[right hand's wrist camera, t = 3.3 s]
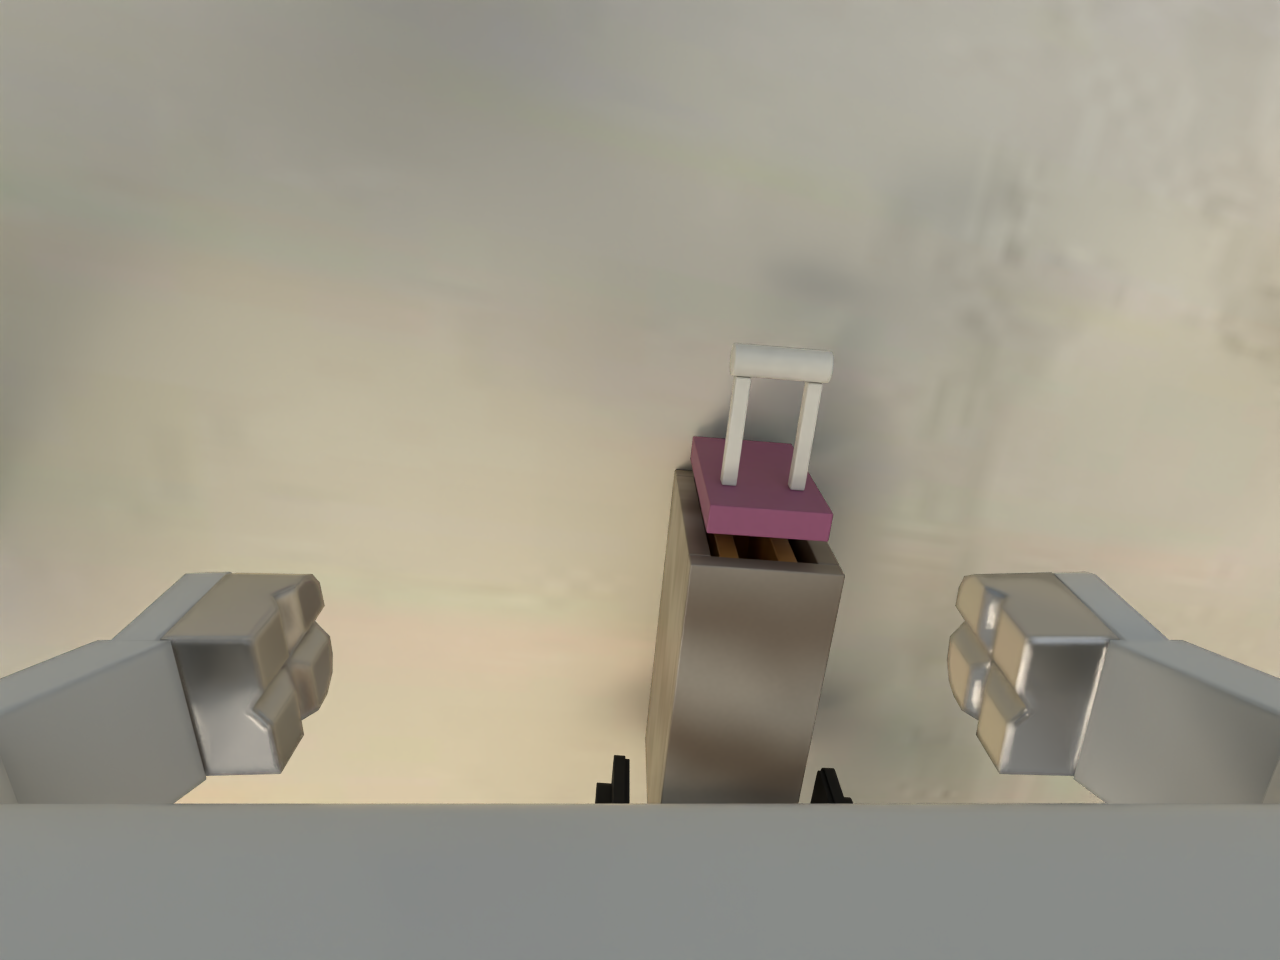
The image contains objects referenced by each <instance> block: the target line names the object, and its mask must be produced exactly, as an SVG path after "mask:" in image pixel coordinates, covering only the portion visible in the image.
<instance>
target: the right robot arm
mask: <svg viewBox="0 0 1280 960" xmlns="http://www.w3.org/2000/svg"><path fill="white" fill-rule="evenodd" d="M324 606H325V605H324V600H323V596H322V591H321V586H320V582H319V581H318V580H317V579H316V578H315V577H314V576H313V574H279V573H231V572H205V573H188V574H185V575H184V576H182V577H181V578H180V579H179V580H178V581H177V582H176V583H175V584H173V585H172V586H171V587H170V588H169V589H168V590H167V591H166V592H164V593H163V594H162V595H161V596H160V597H159V598H158V599H157V600H155V601H154V602H153V603H152V604H151V605H150V606H149V607H148V608H146V609H145V610H144V611H143V612H142V613H141V614H140V615H139V616H137V617H136V618H135V619H134V620H133V621H132V622H131V623H130V624H128V625H127V626H126V627H125V628H124V629H123V630H122V631H121V632H119V633H118V634H117V635H116V636H115V637H114V638H113V639H112V640H97V641H94V642H92V643H89V644H87V645H84V646H82V647H79V648H77V649H74V650H72V651H69V652H66V653H64V654H61V655H59V656H56V657H54V658H51V659H49V660H46V661H44V662H41V663H39V664H36V665H34V666H31V667H29V668H26V669H23V670H21V671H18V672H16V673H13V674H11V675H8V676H6V677H3V678H1V679H0V960H1280V679H1279V678H1277V677H1274V676H1272V675H1269V674H1266V673H1264V672H1261V671H1259V670H1256V669H1254V668H1251V667H1249V666H1246V665H1244V664H1241V663H1239V662H1236V661H1234V660H1231V659H1229V658H1226V657H1224V656H1221V655H1218V654H1216V653H1213V652H1211V651H1208V650H1206V649H1203V648H1201V647H1198V646H1196V645H1193V644H1191V643H1188V642H1186V641H1183V640H1168V639H1167V638H1166V637H1165V636H1164V635H1163V634H1162V633H1161V632H1160V631H1158V630H1157V629H1156V628H1155V627H1154V626H1153V625H1152V624H1151V623H1149V622H1148V621H1147V620H1146V619H1145V618H1144V617H1143V616H1142V615H1140V614H1139V613H1138V612H1137V611H1136V610H1135V609H1134V608H1133V607H1131V606H1130V605H1129V604H1128V603H1127V602H1126V601H1125V600H1124V599H1123V598H1121V597H1120V596H1119V595H1118V594H1117V593H1116V592H1115V591H1114V590H1112V589H1111V588H1110V587H1109V586H1108V585H1107V584H1106V583H1105V582H1103V581H1102V580H1101V579H1100V578H1099V577H1098V576H1097V575H1095V574H1092V573H1088V572H1065V573H1052V572H1049V573H1007V574H973V575H968V576H964V578H963V580H962V582H961V584H960V586H959V589H958V595H957V600H956V605H955V606H956V608H957V609H958V611H959V612H960V614H961V615H962V617H963V619H964V620H965V621H964V623H963V624H962V625H961V626H960V627H959V628H958V629H957V630H956V631H955V632H954V633H953V634H952V635H951V636H950V641H949V648H948V656H947V665H948V676H949V683H950V686H951V689H952V692H953V695H954V697H955V699H956V701H957V703H958V705H959V706H960V708H961V710H962V711H964V712H966V713H967V714H969V715H971V716H972V717H974V718H975V719H977V720H979V721H978V727H977V732H976V735H977V737H978V739H979V740H980V742H981V744H982V745H983V747H984V749H985V750H986V752H987V754H988V755H989V757H990V759H991V760H992V762H993V764H994V765H995V767H996V769H997V770H998V772H999V774H1025V775H1063V776H1074V780H1076V781H1077V782H1078V783H1080V784H1081V785H1082V786H1084V787H1085V788H1086V789H1088V790H1089V791H1090V792H1092V793H1093V794H1095V795H1096V796H1097V797H1099V798H1100V799H1101V800H1103V801H1104V802H1105V803H1107V804H174V803H175V802H176V801H178V800H179V799H180V798H182V797H183V796H184V795H186V794H187V793H188V792H190V791H191V790H193V789H194V788H195V787H197V786H198V785H199V784H201V783H202V782H203V781H205V780H206V776H217V775H253V774H281V772H282V771H283V769H284V767H285V766H286V764H287V762H288V761H289V759H290V757H291V756H292V754H293V752H294V751H295V749H296V747H297V745H298V744H299V742H300V740H301V739H302V737H303V735H304V732H303V727H302V721H301V720H303V719H305V718H306V717H308V716H309V715H311V714H313V713H314V712H316V711H318V710H319V708H320V706H321V704H322V703H323V701H324V699H325V697H326V695H327V693H328V689H329V685H330V680H331V676H332V667H333V653H332V646H331V640H330V636H329V635H328V634H327V633H326V632H325V631H324V630H323V629H322V628H321V627H320V626H319V625H318V624H317V623H316V621H315V620H316V619H317V617H318V615H319V614H320V612H321V611H322V609H323V608H324Z"/></svg>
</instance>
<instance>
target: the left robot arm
mask: <svg viewBox="0 0 1280 960" xmlns="http://www.w3.org/2000/svg"><path fill="white" fill-rule="evenodd" d="M595 804H629V759H625V756H619V755H614V761H613V772H612V783H611V784H610V783H597V787H596V799H595ZM810 804H853V801H852V799H851V798H848V797H844V796H843V793H842V790H841V787H840V784H839V781H838V778H837V775H836V772H835V770H834V768H822V769H821V771H818V772H817V776H816V780H815V785H814V789H813V794H812V799H811V803H810Z"/></svg>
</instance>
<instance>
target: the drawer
mask: <svg viewBox="0 0 1280 960" xmlns="http://www.w3.org/2000/svg"><path fill="white" fill-rule="evenodd" d="M833 368H834V357H833V353H832V352H831V351H825V350H813V349H801V348H789V347H777V346H765V345H753V344H741V343H734V344H733V346H732V350H731V355H730V374H731V375H732V376H734V380H733V388H732V395H731V403H730V410H729V418H728V425H727V433H726V439H722V438H710V437H697V436H694V437H693V441H692V450H691V458H690V459H691V464H692V468H693V473H694V477H695V482H696V486H697V491H698V495H699V500H700V504H701V514H702V518H703V523H704V528H705V532H706V537H707V541H708V546H709V551H710V555H711V556H713V557H728V558H742V559H756V560H770V561H784V562H797V560H796V558H795V556H794V553H793V551H792V549H791V546H790V544H789V542H788V539H798V540H812V541H826V542H827V541H828V539H829V534H830V529H831V524H832V519H833V513H832V511H831V510H830V508H829V506H828V505H827V503H826V501H825V499H824V498H823V496H822V494H821V493H820V491H819V489H818V488H817V486H816V484H815V483H814V481H813V479H812V478H811V476H810V474H809V473H808V467H809V461H810V456H811V450H812V444H813V439H814V433H815V427H816V422H817V416H818V410H819V405H820V399H821V393H822V388H823V384H822V383H828V382H829V381H830V379H831V377H832V373H833ZM750 377H756V378H768V379H781V380H793V381H805V385H804V391H803V397H802V403H801V409H800V415H799V421H798V427H797V433H796V439H795V444H794V448H793V446H792V444H787V443H774V442H761V441H748V440H743V434H744V427H745V420H746V413H747V406H748V399H749V392H750V385H751V378H750Z"/></svg>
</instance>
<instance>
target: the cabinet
mask: <svg viewBox="0 0 1280 960" xmlns="http://www.w3.org/2000/svg"><path fill="white" fill-rule="evenodd" d="M788 542H789V544H790V546H791V549H792V551H793V553H794V556H795V558H796V560H797V562H784V561H770V560H756V559H742V558H728V557H713V556H711V555H710V551H709V546H708V541H707V537H706V532H705V528H704V523H703V518H702V514H701V504H700V500H699V495H698V491H697V486H696V482H695V477H694V473H693V471H687V470H675V474H674V483H673V492H672V501H671V510H670V519H669V528H668V537H667V546H666V555H665V564H664V573H663V583H662V592H661V601H660V610H659V619H658V628H657V637H656V646H655V655H654V664H653V673H652V683H651V692H650V701H649V710H648V719H647V728H646V737H645V746H646V779H647V804H798V802H799V797H800V792H801V787H802V782H803V777H804V773H805V768H806V763H807V758H808V753H809V748H810V743H811V739H812V734H813V729H814V724H815V719H816V714H817V709H818V705H819V700H820V695H821V690H822V685H823V680H824V675H825V670H826V666H827V661H828V656H829V651H830V646H831V641H832V636H833V632H834V627H835V622H836V617H837V612H838V607H839V602H840V598H841V593H842V588H843V583H844V578H845V575H844V573H843V571H842V569H841V567H840V566H839V563H838V562H837V560H836V558H835V556H834V554H833V552H832V550H831V549H830V547H829V545H828V543H827V542H826V541H812V540H798V539H788Z"/></svg>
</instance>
